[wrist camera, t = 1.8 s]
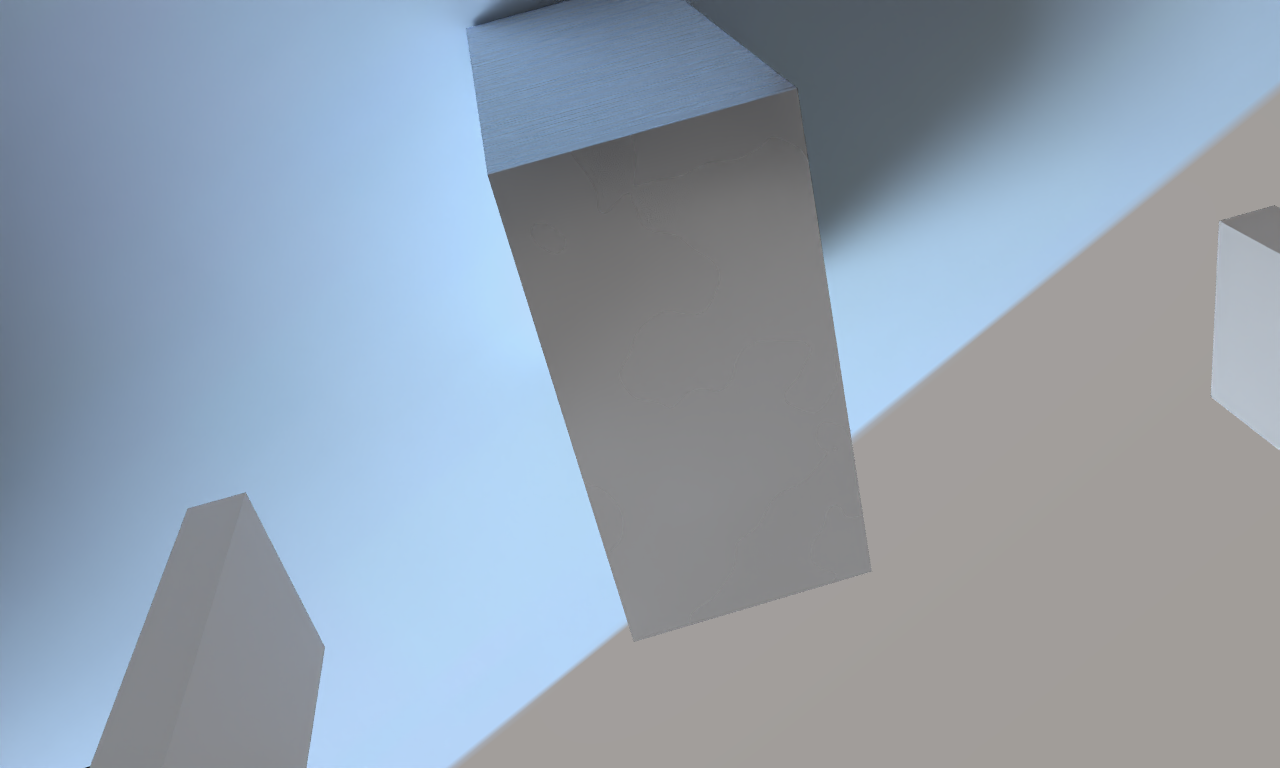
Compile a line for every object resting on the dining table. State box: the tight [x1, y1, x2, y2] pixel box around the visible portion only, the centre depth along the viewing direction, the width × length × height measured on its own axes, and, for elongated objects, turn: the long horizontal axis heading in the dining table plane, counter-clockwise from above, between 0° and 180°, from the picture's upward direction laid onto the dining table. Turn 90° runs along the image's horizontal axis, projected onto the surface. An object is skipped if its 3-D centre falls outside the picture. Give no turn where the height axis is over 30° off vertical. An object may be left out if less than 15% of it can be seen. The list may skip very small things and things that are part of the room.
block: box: [466, 0, 871, 642], centre depth 20 cm, size 4×8×10 cm, turn 13°
